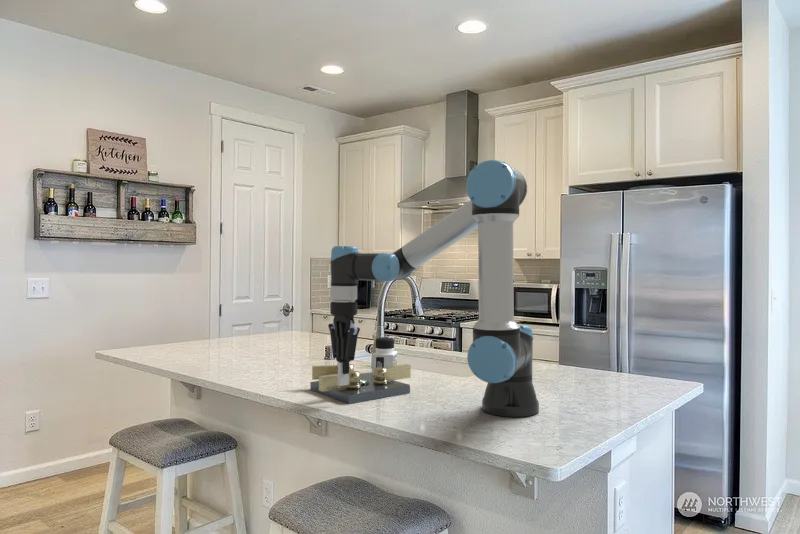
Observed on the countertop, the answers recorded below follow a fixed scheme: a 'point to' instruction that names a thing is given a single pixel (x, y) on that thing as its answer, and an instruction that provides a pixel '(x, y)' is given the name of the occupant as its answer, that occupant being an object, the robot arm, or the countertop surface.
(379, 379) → the knob
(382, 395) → the tribrach plate
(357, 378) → the knob
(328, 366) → the brass lever handle
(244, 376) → the countertop surface
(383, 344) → the container
